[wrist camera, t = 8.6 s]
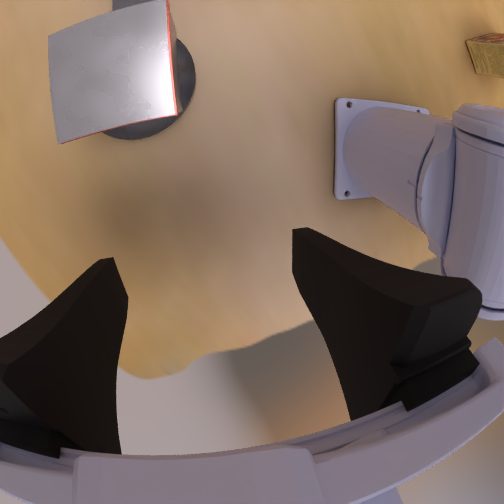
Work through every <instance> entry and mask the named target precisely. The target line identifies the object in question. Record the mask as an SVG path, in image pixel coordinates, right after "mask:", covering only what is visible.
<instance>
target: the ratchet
mask: <svg viewBox="0 0 504 504" xmlns="http://www.w3.org/2000/svg"><path fill="white" fill-rule="evenodd" d="M151 1H156V0H113V11H115V10H118V9H122V8H126V7H129V6H133V5H137V4H142V3H146V2H151ZM177 52H178V64H179V76H180V87H181V97H182V106H183V111H182V112H179V113H178V115H174V116H168V117H163V118H158V119H153V120H148V121H143V122H138V123H134V124H130V125H125V126H121V127H117V128H114V129H110V130H106V131H102V132H103V133H105V134H107V135H109V136H112V137H114V138H119V139H126V140H132V139H141V138H145V137H149V136H151V135H154V134H156V133H158V132H160V131H162V130H164V129H165V128H166V127H168V126H169V125H171V124H172V123H173V122H175V121H176V120H177V119H178V118H179V117H180V116H181V115H182V114H183V113H184V111H185V110H186V108H187V107H188V105H189V103H190V102H191V99H192V97H193V94H194V90H195V84H196V74H195V68H194V63H193V60H192V57H191V55H190V53H189V51H188V50H187V48H186V47H185V45H184V44H183V43H182V42H181V41H180V40H178V39H177Z"/></svg>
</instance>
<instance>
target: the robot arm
mask: <svg viewBox="0 0 504 504" xmlns="http://www.w3.org/2000/svg"><path fill="white" fill-rule="evenodd" d="M347 102H349V103H350V106H349V108H348V107H347V106H346V103H347ZM417 111H418V112H417ZM335 129H336V144H335V187H334V195H335V197H336V198H337V199H339V200H346V199H357V198H368V197H375V198H376V199H378V200H379V201H381V202H382V203H384V204H385V205H387V206H388V207H389V208H391V209H392V210H394V211H395V212H397V213H398V214H399V215H401V216H402V217H403V218H405V219H406V220H408V221H409V222H410V223H412V224H413V225H414V226H416V227H417V228H418V229H420V230H421V231H422V232H424V233H425V234H426V235H427V236H428V240H429V250H430V251H432V252H433V253H434V254H435V255H436V256H437V257H439V258H440V259H441V261H440V266H439V275H434V274H429V273H423V272H418V271H414V270H410V269H406V268H402V267H399V266H395V265H392V264H389V263H386V262H383V261H380V260H377V259H375V258H372V257H369V256H367V255H365V254H362V253H360V252H358V251H356V250H353V249H351V248H349V247H347V246H345V245H343V244H341V243H339V242H337V241H335V240H333V239H331V238H329V237H327V236H325V235H323V234H321V233H319V232H317V231H315V230H313V229H310V228H308V227H306V228H299V229H292V273H293V276H294V279H295V281H296V284H297V287H298V289H299V292H300V294H301V296H302V298H303V299H304V301H305V303H306V305H307V307H308V309H309V311H310V312H311V314H312V316H313V318H314V320H315V322H316V324H317V325H318V327H319V329H320V331H321V333H322V335H323V337H324V339H325V342H326V344H327V347H328V349H329V352H330V355H331V357H332V360H333V363H334V366H335V369H336V372H337V374H338V377H339V380H340V384H341V387H342V390H343V393H344V397H345V400H346V404H347V407H348V412H349V415H350V419H351V421H350V422H347V423H344V424H341V425H339V426H335V427H332V428H329V429H326V430H322V431H319V432H316V433H312V434H309V435H305V436H301V437H297V438H293V439H289V440H285V441H281V442H275V443H271V444H266V445H261V446H255V447H250V448H243V449H236V450H230V451H222V452H213V453H202V454H188V455H160V456H159V455H158V456H149V455H147V456H146V455H122V453H121V447H120V441H119V434H118V424H117V411H116V376H117V366H118V359H119V354H120V349H121V344H122V339H123V334H124V329H125V324H126V319H127V310H128V295H127V293H126V290H125V288H124V285H123V282H122V280H121V277H120V275H119V272H118V269H117V266H116V264H115V261H114V258H113V257H111V258H105V259H100V260H99V261H97V262H96V263H94V264H93V265H92V266H91V267H90V268H88V269H87V270H86V271H85V272H84V273H83V274H82V275H81V276H80V277H79V278H77V279H76V280H75V281H74V282H73V283H72V284H71V285H70V286H69V287H68V288H67V289H66V290H65V291H63V292H62V293H61V294H60V295H59V296H58V297H57V298H56V299H55V300H54V301H52V302H51V303H50V304H49V305H48V306H47V307H46V308H44V309H43V310H42V311H40V312H39V313H38V314H36V315H35V316H34V317H32V318H31V319H30V320H28V321H27V322H25V323H24V324H22V325H21V326H20V327H18V328H17V329H15V330H13V331H12V332H10V333H9V334H7V335H5V336H3V337H2V338H0V491H2V492H4V493H6V494H8V495H10V496H12V497H14V498H16V499H18V500H21V501H23V502H25V503H27V504H403V503H402V500H401V498H400V496H399V493H398V491H397V488H396V487H397V486H399V485H401V484H403V483H405V482H407V481H408V480H410V479H412V478H414V477H416V476H417V475H419V474H421V473H422V472H424V471H426V470H428V469H429V468H431V467H433V466H434V465H436V464H437V463H439V462H440V461H442V460H443V459H445V458H446V457H448V456H449V455H451V454H452V453H454V452H455V451H456V450H458V449H459V448H461V447H462V446H463V445H465V444H466V443H467V442H469V441H470V440H471V439H472V438H474V437H475V436H476V435H477V434H479V433H480V432H481V431H482V430H483V429H485V428H486V427H487V426H488V425H489V424H491V423H492V422H493V421H494V420H495V419H496V418H497V417H498V416H499V415H500V414H502V413H503V412H504V346H503V345H502V343H501V342H500V341H499V340H498V339H497V338H496V337H494V338H493V339H491V340H490V341H488V342H487V343H486V344H484V345H482V346H481V347H480V348H478V349H477V350H476V351H475V352H474V353H473V354H472V352H471V351H470V350H469V347H470V346H471V341H470V340H469V339H468V337H467V335H468V333H469V331H470V329H471V327H472V325H473V323H474V322H475V320H476V318H477V317H479V318H483V319H487V320H504V109H501V108H496V107H491V106H486V105H479V104H463V105H461V106H460V107H459V108H458V110H455V111H454V112H453V113H452V120H449V119H445V118H441V117H436V116H432V115H430V112H429V110H428V109H426V108H421V107H415V106H410V105H403V104H397V103H390V102H382V101H373V100H364V99H352V98H338V99H337V100H336V101H335ZM346 191H348V193H347V195H345V192H346Z"/></svg>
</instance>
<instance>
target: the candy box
mask: <svg viewBox="0 0 504 504" xmlns="http://www.w3.org/2000/svg"><path fill="white" fill-rule="evenodd" d="M466 44H467V47H468V49H469V52H470V55H471V58H472V61H473V64H474V67H475V70H476V73H477V74H483V75H489V76H494V77H500V78H504V34H502V33H493V34H489V35H485V36H481V37H478V38H474V39H471V40H467V41H466Z"/></svg>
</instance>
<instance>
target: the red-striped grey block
mask: <svg viewBox="0 0 504 504" xmlns="http://www.w3.org/2000/svg"><path fill="white" fill-rule="evenodd" d="M48 55H49V77H50V89H51V99H52V108H53V115H54V122H55V129H56V135H57V140H58V144H64V143H67V142H70V141H73V140H76V139H79V138H82V137H85V136H89V135H92V134H95V133H99V132H102V131H106V130H110V129H114V128H117V127H121V126H125V125H130V124H134V123H138V122H143V121H148V120H153V119H158V118H163V117H168V116H174V115H178V113H179V112H182V111H183V106H182V97H181V87H180V76H179V64H178V52H177V38H176V28H175V25H174V22H173V19H172V16H171V13H170V5H169V2H168V1H167V0H156V1H151V2H146V3H142V4H137V5H133V6H129V7H126V8H122V9H118V10H115V11H112V12H108V13H105V14H102V15H99V16H96V17H93V18H90V19H88V20H85V21H82V22H80V23H77V24H75V25H72V26H70V27H67V28H65V29H63V30H60V31H58V32H56V33H54V34H52V35H49V36H48Z"/></svg>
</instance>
